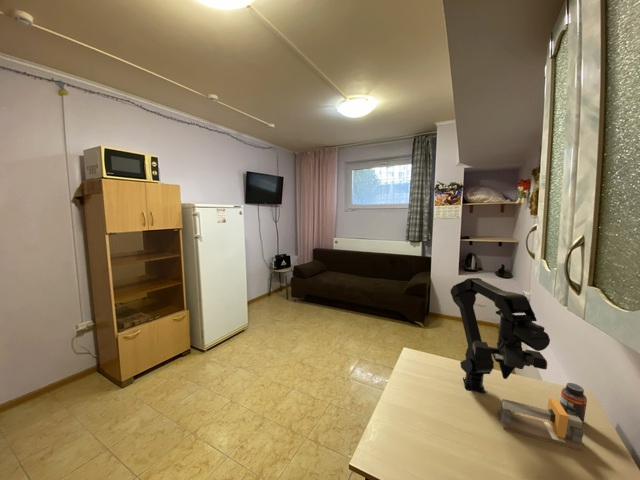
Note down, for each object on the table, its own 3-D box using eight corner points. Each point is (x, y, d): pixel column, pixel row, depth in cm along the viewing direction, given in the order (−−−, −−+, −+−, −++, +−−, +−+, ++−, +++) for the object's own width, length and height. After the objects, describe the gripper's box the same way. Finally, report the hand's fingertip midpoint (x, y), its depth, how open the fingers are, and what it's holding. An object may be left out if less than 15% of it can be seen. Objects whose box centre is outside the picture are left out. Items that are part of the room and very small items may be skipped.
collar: (546, 417, 82) (549, 397, 81) (554, 419, 81) (557, 399, 80) (556, 435, 75) (559, 414, 74) (565, 438, 75) (568, 416, 74)
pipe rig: (498, 412, 87) (500, 393, 86) (571, 431, 80) (574, 410, 79) (503, 429, 80) (506, 408, 79) (583, 451, 73) (587, 429, 72)
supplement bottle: (578, 414, 86) (583, 383, 85) (587, 428, 81) (593, 395, 79) (555, 408, 89) (559, 378, 87) (562, 421, 83) (567, 389, 82)
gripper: (480, 339, 78) (475, 386, 80) (559, 353, 71) (551, 404, 73) (474, 323, 88) (470, 365, 91) (542, 334, 81) (536, 379, 84)
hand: (504, 378), depth 84 cm, fingers closed
